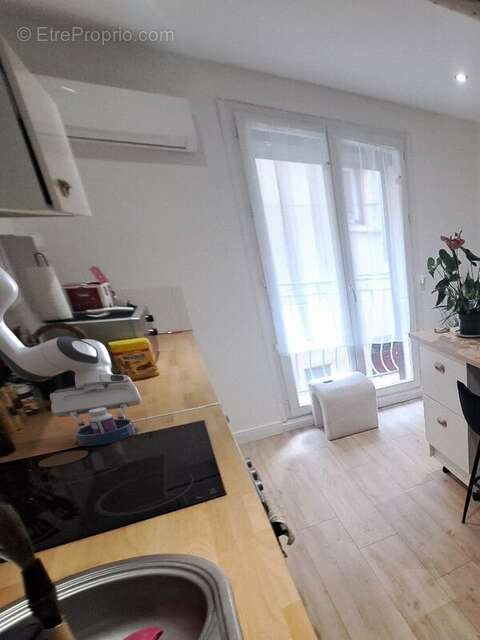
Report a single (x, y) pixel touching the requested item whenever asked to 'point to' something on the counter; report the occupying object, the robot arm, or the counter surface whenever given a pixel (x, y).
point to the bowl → (90, 439)
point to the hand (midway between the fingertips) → (101, 421)
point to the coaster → (63, 458)
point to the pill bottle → (101, 421)
